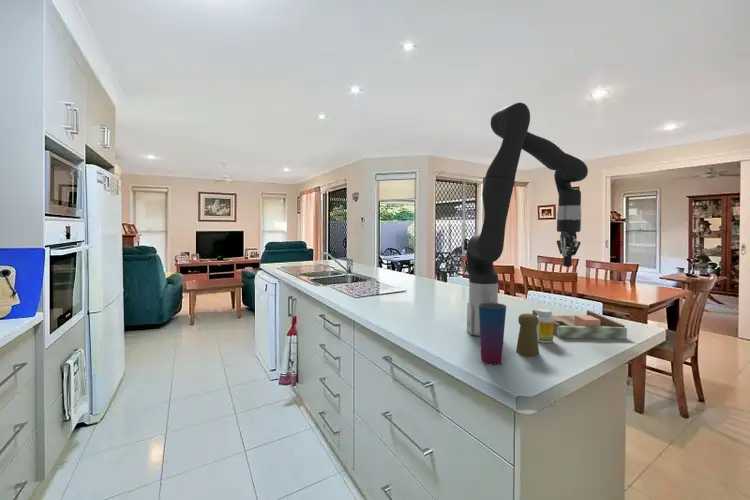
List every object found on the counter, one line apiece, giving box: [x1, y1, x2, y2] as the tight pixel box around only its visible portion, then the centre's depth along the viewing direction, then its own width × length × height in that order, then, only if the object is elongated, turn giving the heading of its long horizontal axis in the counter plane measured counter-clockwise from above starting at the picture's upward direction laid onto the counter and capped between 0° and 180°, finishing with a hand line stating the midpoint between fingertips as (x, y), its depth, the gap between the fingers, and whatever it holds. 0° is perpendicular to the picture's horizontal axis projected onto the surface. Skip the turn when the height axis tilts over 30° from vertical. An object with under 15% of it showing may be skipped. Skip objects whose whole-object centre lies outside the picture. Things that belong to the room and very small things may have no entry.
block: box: [574, 314, 601, 327], centre depth 114 cm, size 5×6×4 cm
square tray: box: [532, 309, 628, 340], centre depth 120 cm, size 21×21×4 cm
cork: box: [515, 313, 540, 358], centre depth 97 cm, size 6×6×11 cm
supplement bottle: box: [536, 308, 554, 344], centre depth 107 cm, size 5×5×10 cm
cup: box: [479, 302, 507, 365], centre depth 90 cm, size 7×7×15 cm
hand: (567, 266), depth 125 cm, fingers closed
